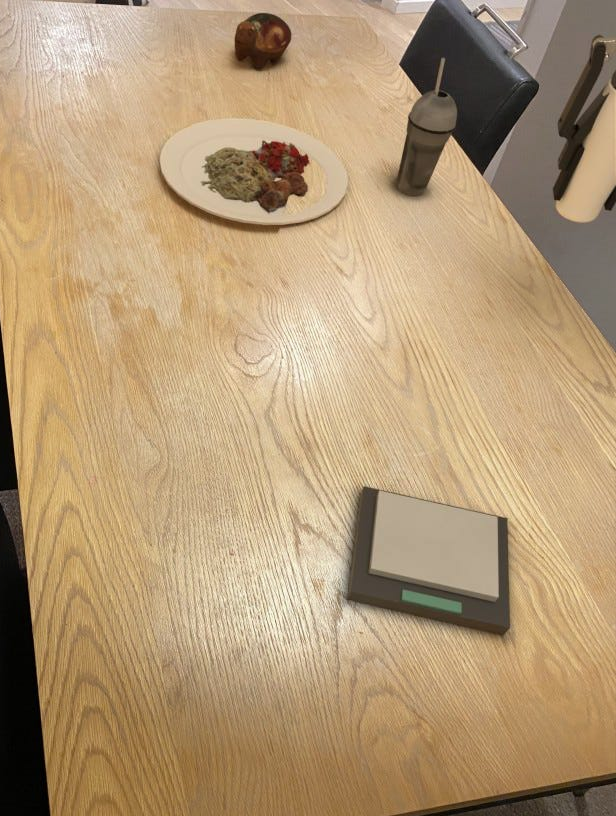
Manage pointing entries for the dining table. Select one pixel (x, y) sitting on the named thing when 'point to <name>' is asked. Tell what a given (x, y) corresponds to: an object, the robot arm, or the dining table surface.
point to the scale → (431, 561)
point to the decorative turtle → (262, 39)
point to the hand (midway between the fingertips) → (581, 199)
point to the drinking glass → (593, 167)
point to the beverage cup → (425, 138)
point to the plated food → (249, 170)
